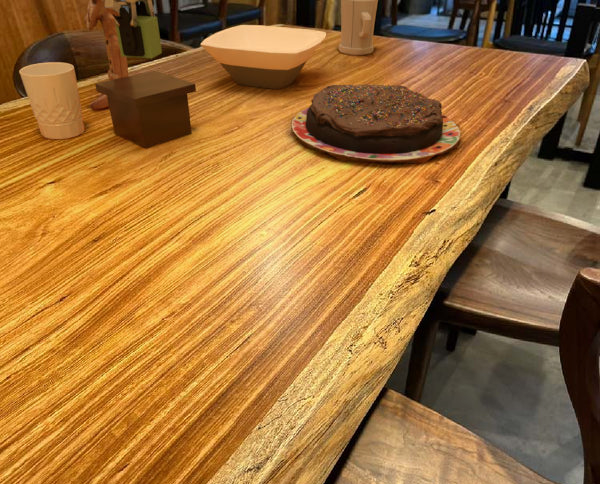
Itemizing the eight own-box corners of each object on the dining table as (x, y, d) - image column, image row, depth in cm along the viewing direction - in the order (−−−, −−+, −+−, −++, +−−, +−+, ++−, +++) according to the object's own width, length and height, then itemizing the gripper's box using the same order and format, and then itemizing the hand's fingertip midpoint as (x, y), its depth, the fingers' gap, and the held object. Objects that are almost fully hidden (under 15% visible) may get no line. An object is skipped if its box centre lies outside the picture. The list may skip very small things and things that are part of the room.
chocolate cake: (478, 169, 78) (488, 125, 75) (287, 166, 79) (287, 121, 75) (441, 107, 101) (447, 71, 97) (293, 105, 101) (293, 68, 97)
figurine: (103, 93, 106) (79, -25, 93) (143, 95, 105) (124, -23, 93) (78, 110, 97) (48, -17, 85) (122, 113, 96) (98, -15, 84)
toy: (121, 56, 80) (114, 19, 77) (132, 51, 83) (126, 14, 80) (152, 58, 79) (146, 21, 76) (162, 52, 82) (157, 16, 79)
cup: (385, 52, 135) (391, -2, 127) (364, 59, 129) (369, 3, 122) (352, 45, 140) (355, -7, 133) (330, 51, 135) (333, -3, 127)
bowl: (301, 102, 103) (302, 54, 97) (194, 89, 108) (189, 44, 103) (333, 72, 119) (334, 31, 114) (238, 63, 125) (236, 23, 120)
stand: (105, 134, 88) (95, 83, 83) (161, 117, 95) (154, 70, 90) (144, 152, 82) (134, 99, 77) (200, 133, 89) (195, 83, 84)
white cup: (69, 121, 93) (53, 59, 87) (98, 130, 89) (84, 67, 83) (28, 134, 88) (8, 69, 82) (57, 145, 84) (39, 78, 78)
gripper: (120, -101, 77) (143, 39, 88) (53, -99, 64) (89, 64, 75) (169, -100, 75) (185, 41, 87) (111, -98, 63) (138, 68, 74)
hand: (140, 50), depth 81 cm, fingers closed on toy, 3 cm apart
